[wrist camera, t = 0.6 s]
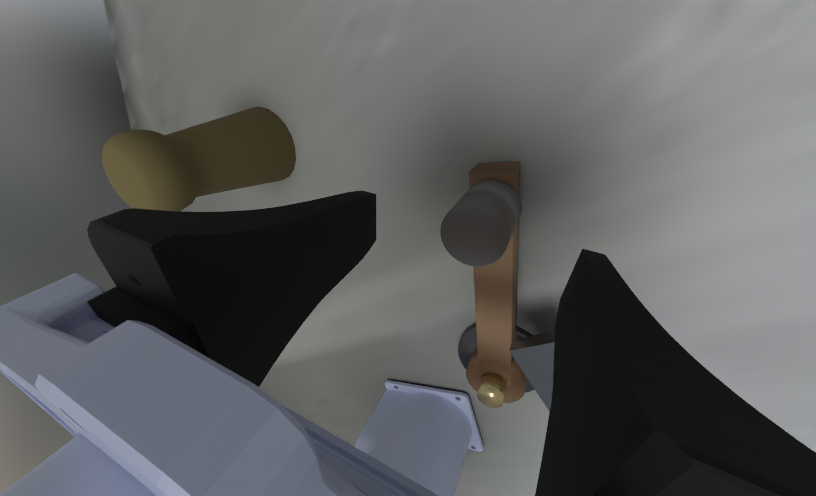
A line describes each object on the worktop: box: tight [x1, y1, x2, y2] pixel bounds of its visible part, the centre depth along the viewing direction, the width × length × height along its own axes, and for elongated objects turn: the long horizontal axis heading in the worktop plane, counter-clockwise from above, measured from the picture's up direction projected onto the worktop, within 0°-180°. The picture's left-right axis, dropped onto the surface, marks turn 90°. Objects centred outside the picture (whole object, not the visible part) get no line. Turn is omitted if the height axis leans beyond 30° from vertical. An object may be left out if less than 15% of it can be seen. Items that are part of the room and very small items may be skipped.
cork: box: [102, 107, 296, 212], centre depth 23 cm, size 6×6×11 cm
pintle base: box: [458, 324, 534, 408], centre depth 25 cm, size 7×7×4 cm
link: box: [441, 162, 527, 403], centre depth 20 cm, size 18×4×6 cm, turn 8°
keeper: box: [509, 331, 555, 411], centre depth 22 cm, size 3×6×4 cm, turn 38°
